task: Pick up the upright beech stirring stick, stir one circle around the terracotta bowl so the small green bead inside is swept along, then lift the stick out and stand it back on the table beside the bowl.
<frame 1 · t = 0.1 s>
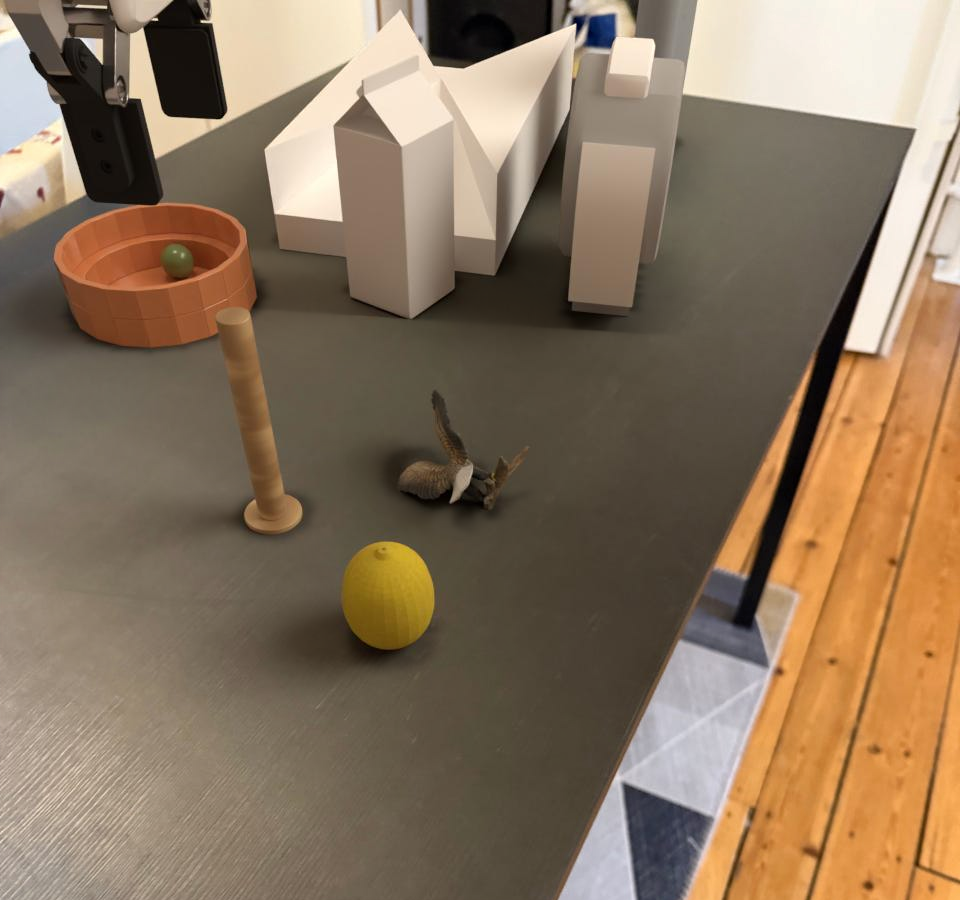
hand: (164, 155, 43), 26 cm above the table, tool pointing down, fingers open, 9 cm apart
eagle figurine: (452, 493, 68), on the table
lemon: (392, 643, 58), on the table
grey boxy piece: (605, 287, 88), on the table
stick: (275, 524, 65), on the table
flask: (642, 173, 106), on the table
bead: (177, 261, 85), point 2 cm above the table, touching bowl
building model: (442, 172, 105), on the table
bowl: (168, 307, 84), on the table
milk carton: (403, 296, 87), on the table
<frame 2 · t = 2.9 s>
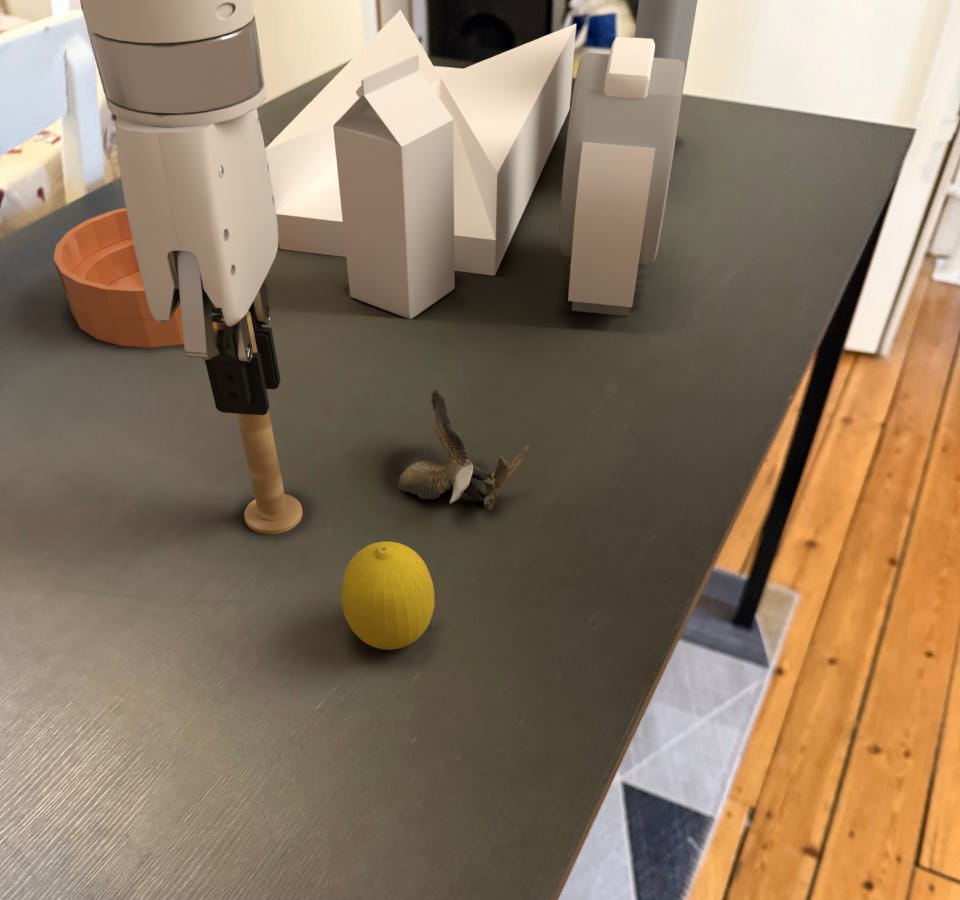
hand: (249, 396, 57), 11 cm above the table, tool pointing down, fingers closed on stick, 2 cm apart
stick: (275, 524, 65), on the table, touching gripper
everything else where it was.
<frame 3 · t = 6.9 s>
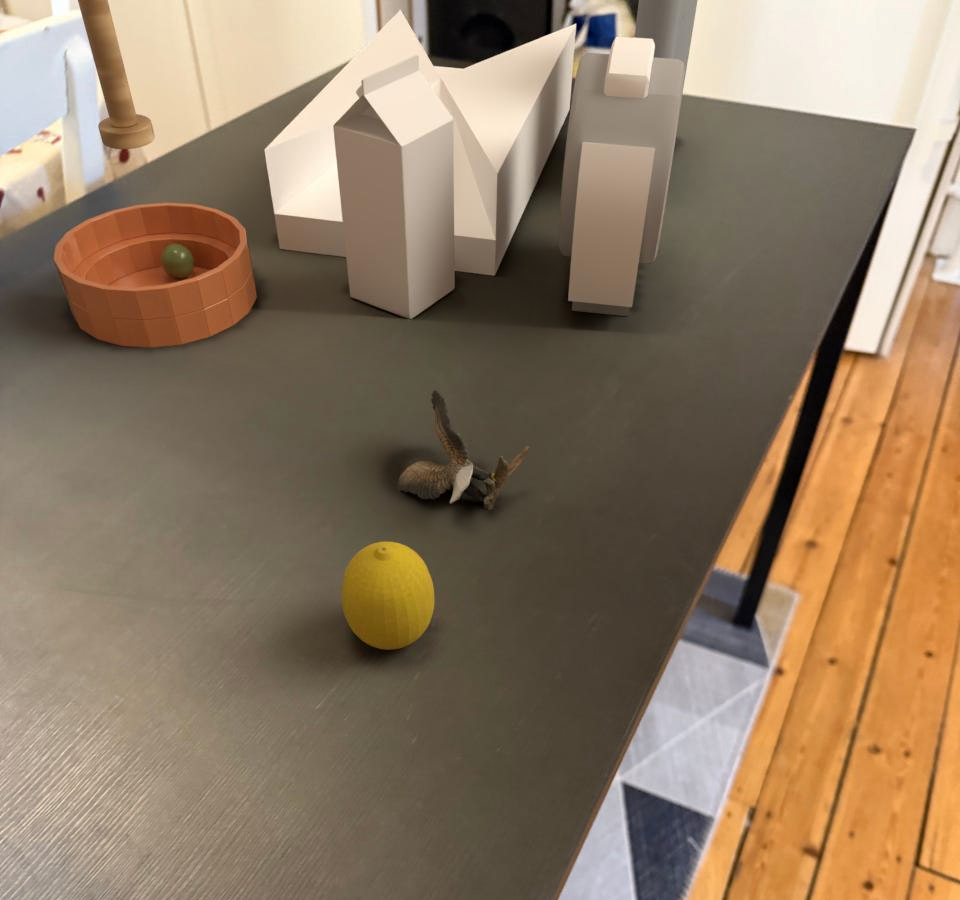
stick: (128, 139, 72), point 15 cm above the table, touching gripper
everything else where it was.
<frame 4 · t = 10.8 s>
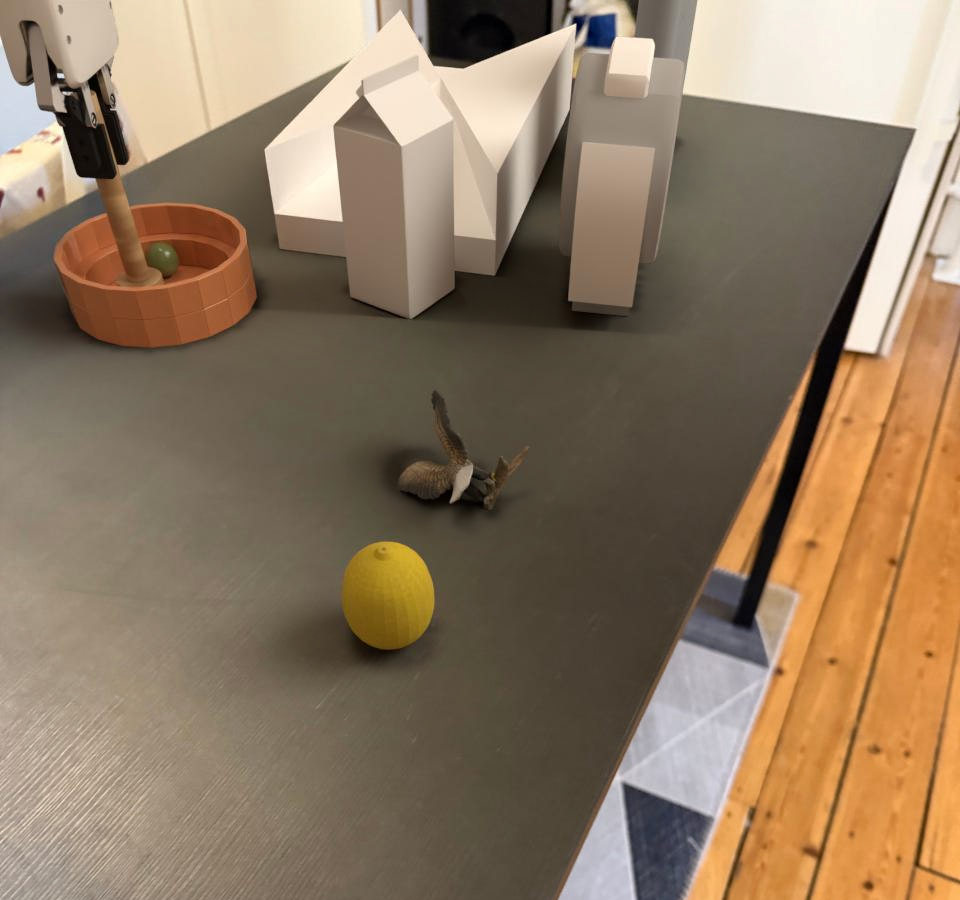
hand: (103, 168, 75), 12 cm above the table, tool pointing down, fingers closed on stick, 2 cm apart
stick: (142, 289, 83), point 2 cm above the table, touching gripper
bead: (162, 259, 86), point 2 cm above the table, tilted 18°, touching bowl
everything else where it was.
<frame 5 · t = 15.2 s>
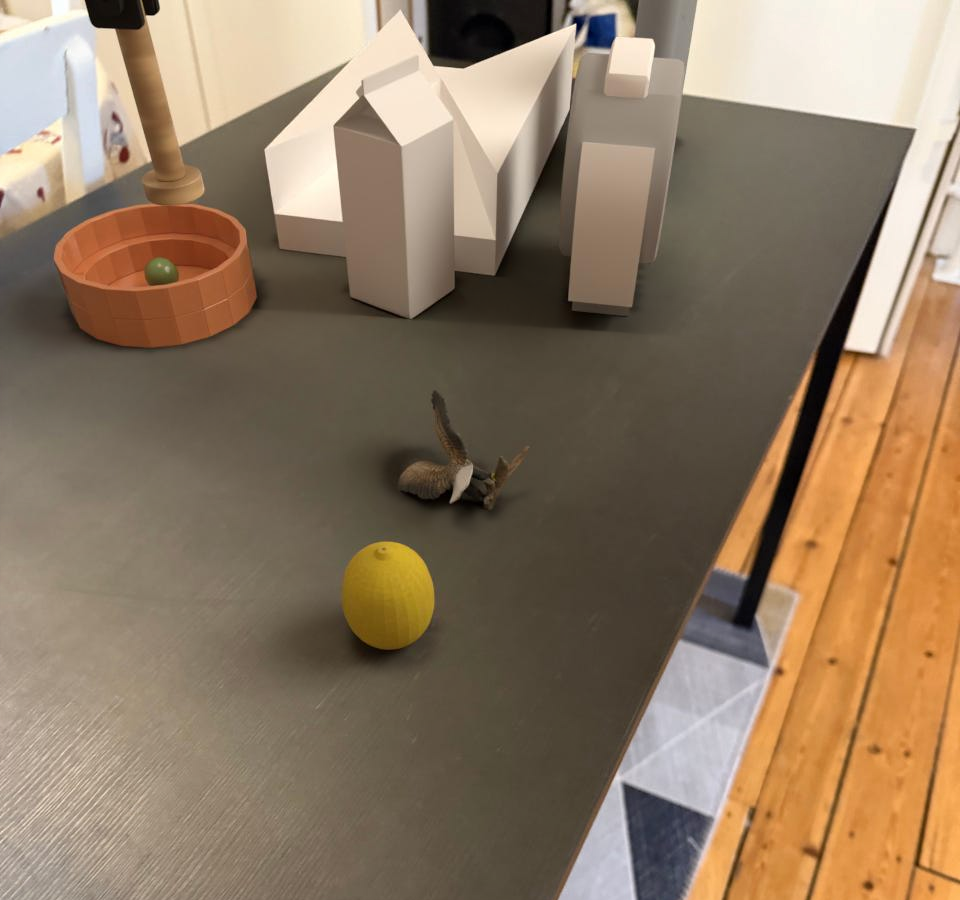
hand: (126, 17, 56), 26 cm above the table, tool pointing down, fingers closed on stick
stick: (175, 193, 64), point 16 cm above the table, touching gripper
bead: (161, 274, 84), point 2 cm above the table, tilted 98°, touching bowl
everything else where it was.
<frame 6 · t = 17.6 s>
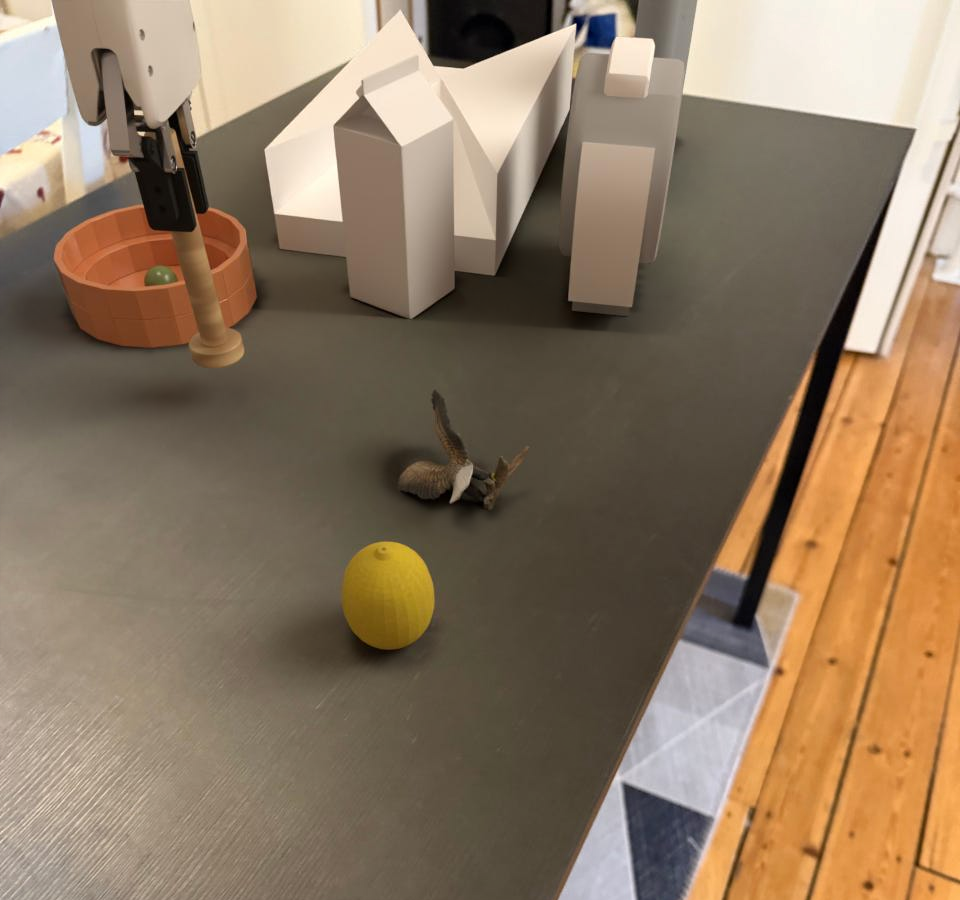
hand: (179, 218, 63), 15 cm above the table, tool pointing down, fingers closed on stick
stick: (218, 354, 71), point 4 cm above the table, touching gripper
bead: (161, 283, 83), point 2 cm above the table, tilted 157°, touching bowl
everything else where it was.
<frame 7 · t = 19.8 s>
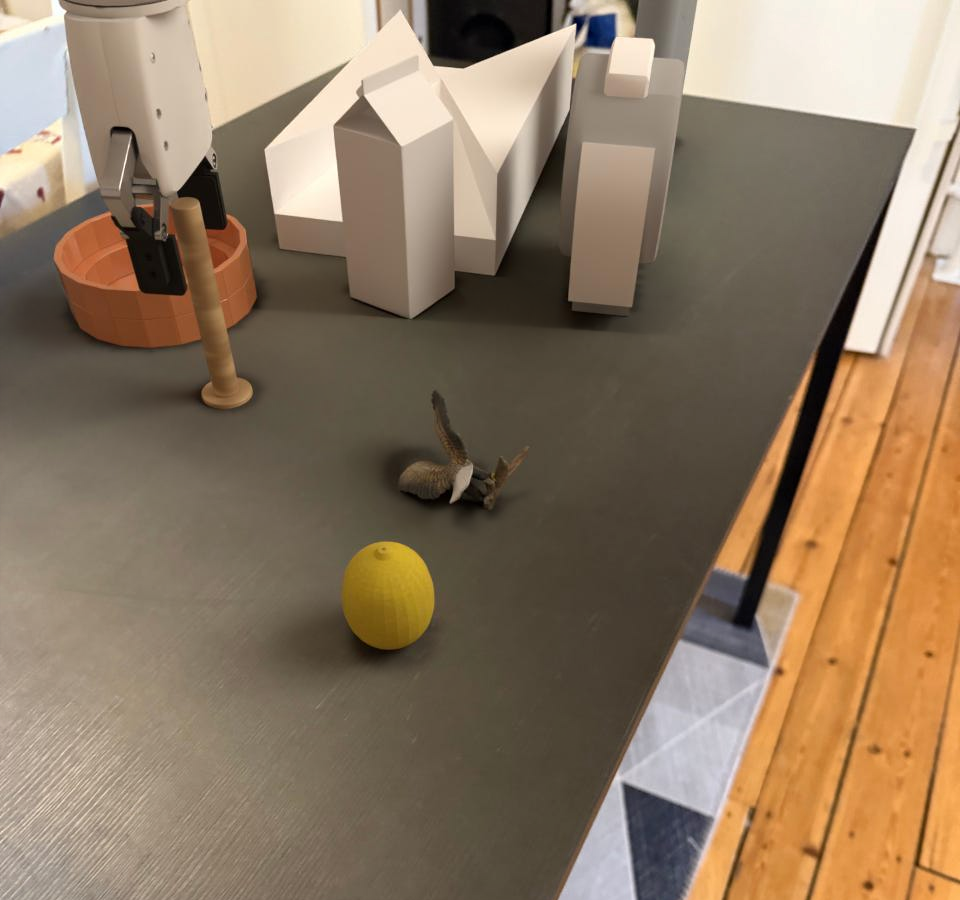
hand: (186, 258, 66), 12 cm above the table, tool pointing down, fingers open, 9 cm apart
stick: (229, 403, 75), on the table
bead: (161, 291, 82), point 2 cm above the table, tilted 143°, touching bowl
everything else where it was.
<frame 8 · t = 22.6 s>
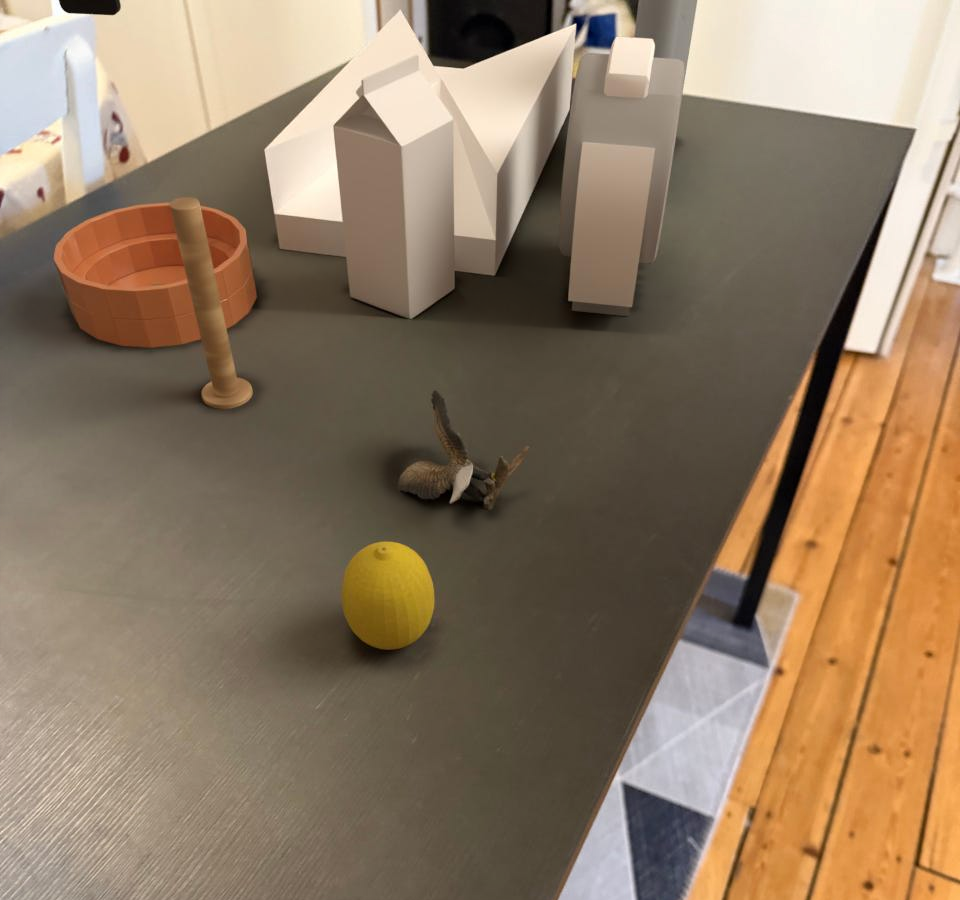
bead: (161, 301, 81), point 2 cm above the table, tilted 73°, touching bowl
everything else where it was.
at the end: bead moved 7.4 cm from its start; bead 3.2 cm from the bowl (horizontally); stick tilted 0° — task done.
